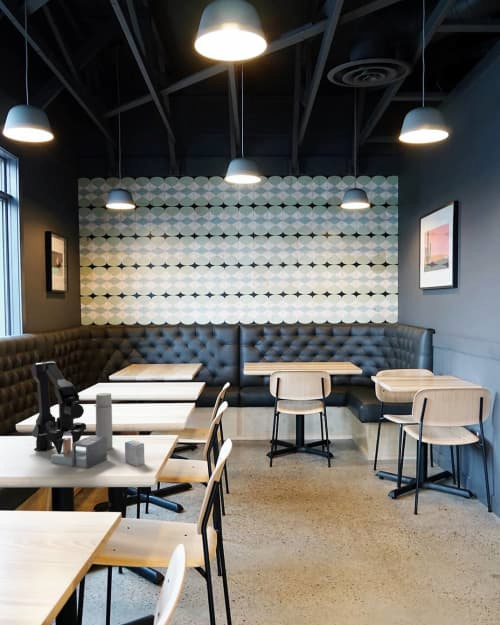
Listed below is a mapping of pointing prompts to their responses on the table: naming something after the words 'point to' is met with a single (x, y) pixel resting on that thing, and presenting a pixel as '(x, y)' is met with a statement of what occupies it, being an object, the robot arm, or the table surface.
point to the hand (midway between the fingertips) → (66, 450)
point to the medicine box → (134, 453)
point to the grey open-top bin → (91, 450)
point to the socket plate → (70, 458)
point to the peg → (67, 446)
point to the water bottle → (104, 417)
